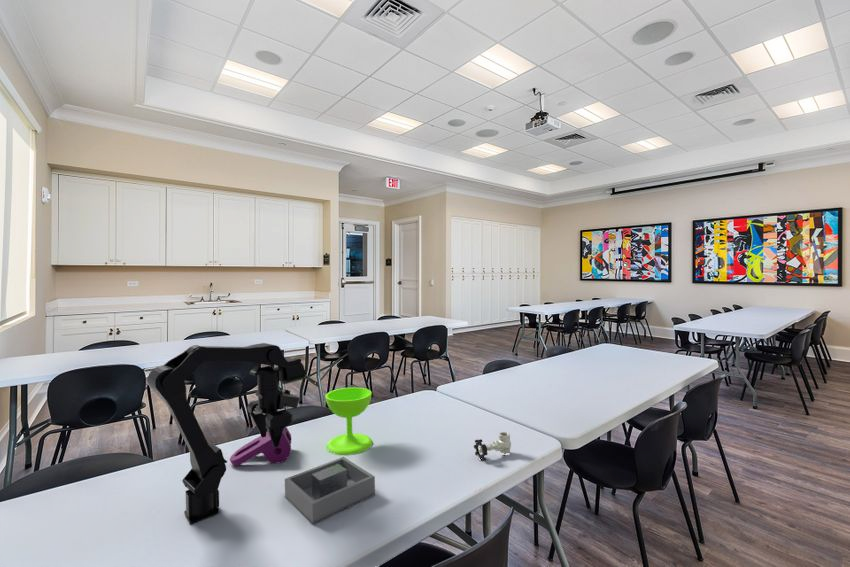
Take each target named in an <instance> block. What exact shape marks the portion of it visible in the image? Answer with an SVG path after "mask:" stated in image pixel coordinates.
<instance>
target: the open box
mask: <svg viewBox="0 0 850 567" xmlns="http://www.w3.org/2000/svg"><path fill="white" fill-rule="evenodd" d="M337 464H339V465H341V466H342V467H344V468H345V469H347V486H346V487H344V488H342V489H340V490H337V491H335V492H333V493H331V494H328V495H326V496H324V497H321V498H319V499H317V500H316V499H314V498H313V497H312V474H313V473H316V472H319V471H321V470H324V469H326V468H329V467H332V466H334V465H337ZM375 477H376V476H375V475H373V474H372V473H370V472H368V471H367V470H365V469H363V468H362V467H361V466H359V465H358V464H356V463H354V462H353V461H351V460H350V459H348V458H346V457H345V456H342V457H339V458H336V459H334V460H331V461H329V462H326V463H324V464H320V465H318V466H316V467H312V468H311V469H308V470H305V471H302V472H299V473H297V474H294V475H292V476H288V477H287V478H285V479H284V498H285V499H286V500H287V501H288V502H289V503H290V504H291V505H292V506H293V507H294V508H295V509H296V510H297V511H298V512H299V513H300V514H301V515H302V516H304V518H305V519H306V520H307V521H308V522H309V523H310V524H311V525H317V524H318V523H320V522H323V521H324V520H326V519H328V518H330V517H332V516H334V515H336V514H339V513H340V512H342V511H345V510H346V509H349V508H351V507H353V506H354V505H357V504H359V503H361V502H363V501H365V500H368V499H369V498H371V497H373V496H375V495H376V490H375V489H376V481H375V480H376V478H375Z"/></svg>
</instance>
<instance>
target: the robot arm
mask: <svg viewBox="0 0 850 567" xmlns="http://www.w3.org/2000/svg"><path fill="white" fill-rule="evenodd" d="M204 362H205V363H209V362H210V363H211V362H212V363H214V362H215V363H216V362H218V363H220V362H221V363H222V362H224V363H225V362H249V363H255V364H256V365H254V367H253V368H252V369H251V370H250V371H249V375H253V376H256V377H257V391H255V396H257V399H256V400H251V401H249V403H248V404H247V412H248V414H249V416H250V417H251V419H252V421H253V423H254V425H255V427H256V429H257V431H258V432H259V436H261V437H262V438H263V437H266V433H267V432H268V433H269V436H270V438H271V441H272V443H273V446H274V447H278V446H279V442H280V439H281V436H282V432H283V430H284V428H285V427H288V426H289V425H290V424H291V423H293V422H294V416H293V413H291V412H290V411H288V410H286V409H285V407H287V408H292V409H298V406H299V402H300V398H301V397H299V396H298V395H295V394H293V393H291V391H290V390H289V389H284V388H283V389H282V390H281V389H280V382H281V384H283V385H286V384H291V383H295V382H300V381H303V380H304V379H305V377H306V368H305V366H304V364H303V363H302V359H301V358H299V357H296V358H293V359H289V360H288V359H286V358H285V356H284V355H283V354H282V349H281V348H280V346H279V345H276V344H271V343H265V342H263V343H255V344H251V345H248V346H219V345H217V346H213V345H212V346H209V345H207V346H206V345H199V344H196V345H191V346H189V347H188V348H187V349H186V350H183V351H182V353H180V354H177V355H176V356H174V357H172V358H171V359H170V360H168V361H167V362H165V363H164V364H163V365H158V366H156V367H154V368H153V369H152V370H151V371H150V372H149V373H148V376H147V377H146V378H147V379H146V381H147V384H148V386H149V387H150V388H151V389H152V391H153V392H154V393H155V394H156V395H157V396H158V397H159V398H160V400H162V402H163V403H164V404H165V405H166V407H167V408H168V410H169V412H170V415H171V417H172V419H173V420H174V422H175V425H176V426H177V429H178V431H179V433H180V434H181V436H182V439H183V440H184V443H185V444H186V447H187V449H188V451H189V461H190V466H191V469H189V472H188V473H187V474H186V475H185V476H184V478H183V479H182V483H183V486H185V488H187V490H185V509H184V513H183V514H184V516H185V517H186V519H187V522H188V523H189V525H191V524H195V523H197V522H200V521H202V520H205V519H208V518H210V517H212V516H215V515H217V514H219V513H220V509H219V507H220V492H219V491H220V490H219V487H220V483H221V481H222V479H223V477H224V475H225V473H226V472H227V465H226V464H227V463H228V461H227V460H226V458H224V455H223V450H222V449H221V448H220V447H218V446H217V445H215V443H213V442H211V443H210V444H209V442H208V440H207V438H206V436H205V434H204V433H203V429H202V428H201V425H200V424H199V421H198V419H197V417H196V415H195V414H194V411H193V409H192V407H191V405H190V403H189V401H188V398H187V386H186V385H187V384H186V380H187V379H188V378H190V377H191V376H192V375H193V374H194V373H195V372H196V370H197V369H198V368H199V366H200V365H201V364H202V363H204ZM258 364H259V365H258ZM260 365H265V366H262V367H261V366H260ZM272 366H275V367H272Z"/></svg>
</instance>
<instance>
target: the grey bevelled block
mask: <svg viewBox="0 0 850 567" xmlns="http://www.w3.org/2000/svg"><path fill="white" fill-rule="evenodd" d="M346 486H347V469H345V468H344V467H342V466H341V465H339V464H337V465H334V466H332V467H329V468H326V469H324V470H321V471H319V472H316V473H313V474H312V497H313V498H314V499H316V500H317V499H319V498H321V497H324V496H326V495H328V494H331V493H333V492H335V491H337V490H340V489H342V488H344V487H346Z"/></svg>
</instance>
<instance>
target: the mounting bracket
mask: <svg viewBox="0 0 850 567" xmlns="http://www.w3.org/2000/svg"><path fill="white" fill-rule="evenodd" d="M291 449H292V434H291V432H290V431H289V428H288V426H286V427H285V428H284V430H283V432H282V436H281V439H280V442H279V446H278V447H274V446H273V443H272V441H271V438H270V436H269V433H268V431H267V433H266V437H263V438H262V437H261V435H259V436H258V437H256V438H254V439H253V440H250V442H248V443H246V444H244V445H243V446H241V447H239V448H238V449H237V450H236V451H234V453H232V455H231V456H230V457H229V461H230V463H231V464H232V466H233V467H238V466H240V465H242V464H245V463H246V462H248V461H249V460H252V459H253V458H255V457H256V456H258V455H260V454H263V456H264V457H265V459H266V460H267V462H269V463H271V464H278V463H277V462H280V463H283V462H286V460H287V459H288V458H289V457H290V455H291Z"/></svg>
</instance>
